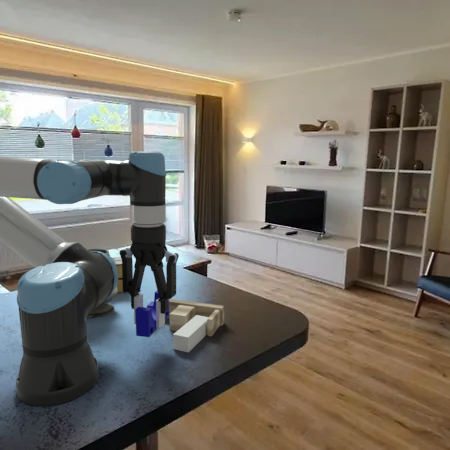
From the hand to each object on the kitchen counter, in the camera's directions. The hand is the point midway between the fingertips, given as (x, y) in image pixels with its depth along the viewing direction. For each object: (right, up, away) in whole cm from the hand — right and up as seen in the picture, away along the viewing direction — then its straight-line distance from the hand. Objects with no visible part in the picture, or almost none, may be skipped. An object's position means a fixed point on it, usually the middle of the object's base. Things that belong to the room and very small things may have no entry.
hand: (149, 323), depth 86 cm
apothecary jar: (-21, -3, +25) cm, 33 cm away
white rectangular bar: (+9, -6, +8) cm, 14 cm away
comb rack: (+6, -4, +16) cm, 18 cm away
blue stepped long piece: (0, 0, +1) cm, 1 cm away
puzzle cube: (-21, 0, +44) cm, 49 cm away
